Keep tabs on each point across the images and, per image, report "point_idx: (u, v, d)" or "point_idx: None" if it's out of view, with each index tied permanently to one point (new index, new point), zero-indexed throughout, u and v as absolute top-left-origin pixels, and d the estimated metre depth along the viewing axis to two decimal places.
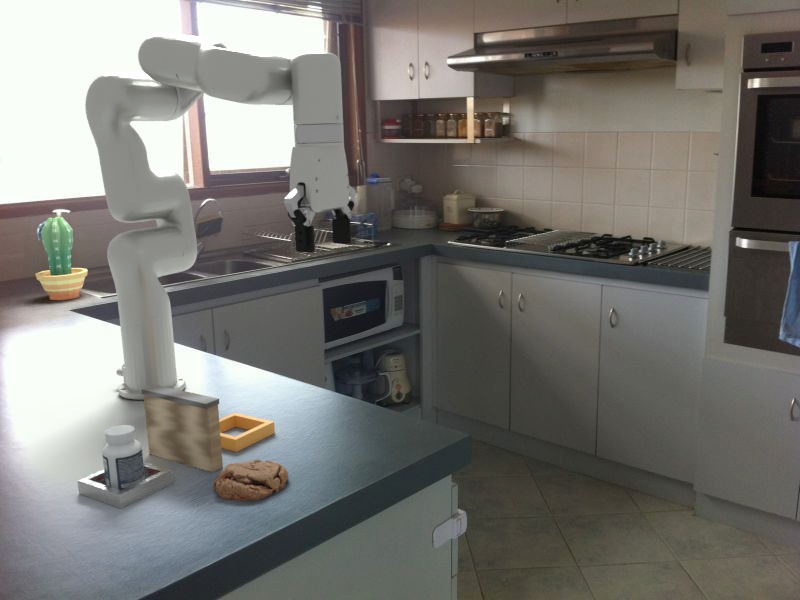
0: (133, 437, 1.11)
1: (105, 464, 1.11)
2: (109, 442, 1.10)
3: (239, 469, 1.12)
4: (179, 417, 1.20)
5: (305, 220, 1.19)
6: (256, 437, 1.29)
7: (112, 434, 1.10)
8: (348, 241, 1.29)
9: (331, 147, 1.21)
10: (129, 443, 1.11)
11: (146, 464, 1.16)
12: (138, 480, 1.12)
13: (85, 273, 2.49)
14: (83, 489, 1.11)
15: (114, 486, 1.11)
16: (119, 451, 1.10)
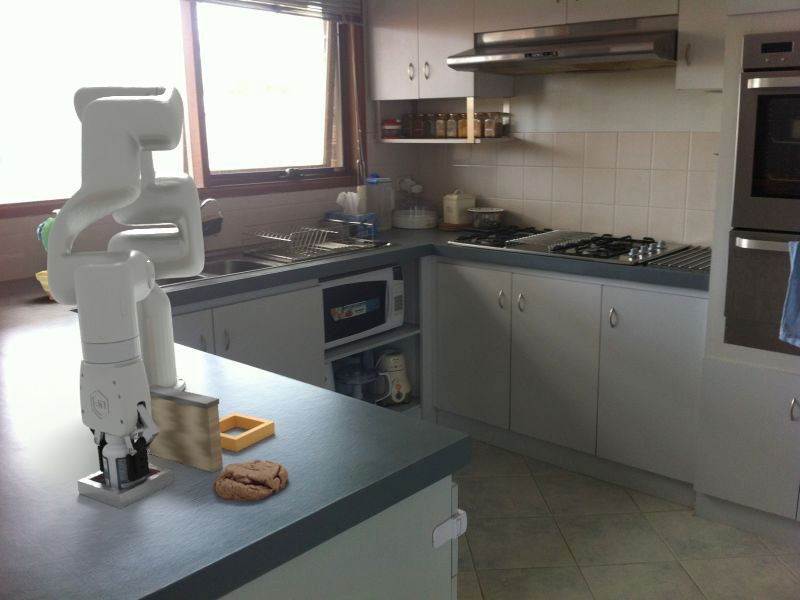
0: (133, 437, 1.11)
1: (105, 464, 1.11)
2: (109, 442, 1.10)
3: (239, 469, 1.12)
4: (179, 417, 1.20)
5: (148, 444, 1.11)
6: (256, 437, 1.29)
7: None
8: None
9: None
10: None
11: None
12: (138, 480, 1.12)
13: None
14: (83, 489, 1.11)
15: (114, 486, 1.11)
16: (119, 451, 1.10)
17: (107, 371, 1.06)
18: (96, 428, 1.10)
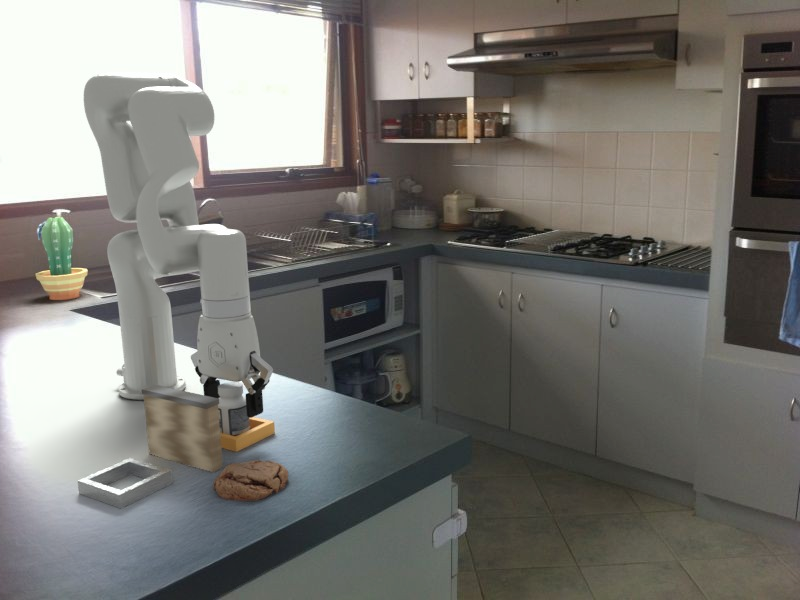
0: (242, 391, 1.30)
1: None
2: (222, 395, 1.28)
3: (239, 469, 1.12)
4: (179, 417, 1.20)
5: None
6: (256, 437, 1.29)
7: (225, 388, 1.28)
8: None
9: None
10: (239, 396, 1.29)
11: (146, 464, 1.16)
12: (246, 429, 1.30)
13: (85, 273, 2.49)
14: (83, 489, 1.11)
15: (226, 433, 1.29)
16: (231, 403, 1.28)
17: (225, 325, 1.24)
18: (212, 375, 1.27)
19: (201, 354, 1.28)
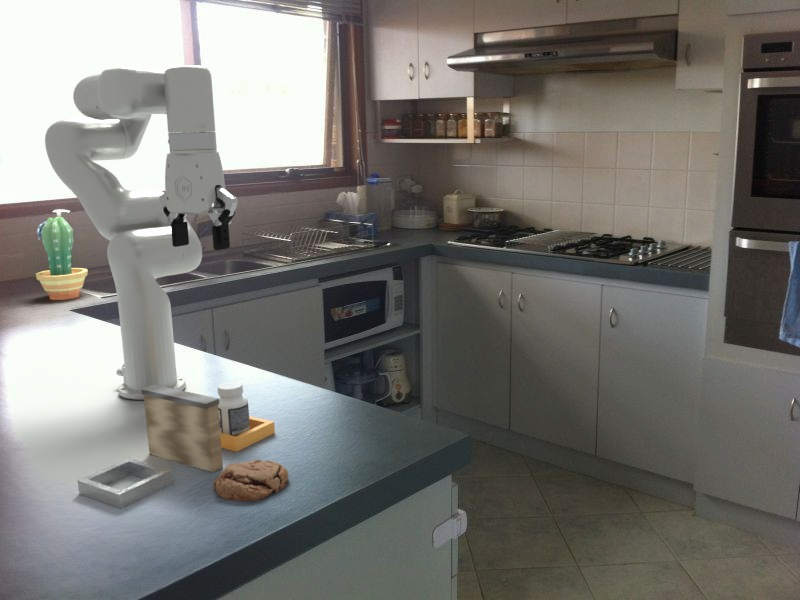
0: (241, 391, 1.30)
1: None
2: (222, 395, 1.28)
3: (239, 469, 1.13)
4: (179, 417, 1.20)
5: None
6: (256, 437, 1.29)
7: (225, 388, 1.28)
8: (188, 242, 1.38)
9: None
10: (238, 396, 1.29)
11: (146, 464, 1.16)
12: (246, 428, 1.30)
13: (85, 273, 2.49)
14: (83, 489, 1.11)
15: (226, 433, 1.29)
16: (231, 403, 1.28)
17: (191, 157, 1.28)
18: (179, 210, 1.31)
19: (169, 191, 1.32)
